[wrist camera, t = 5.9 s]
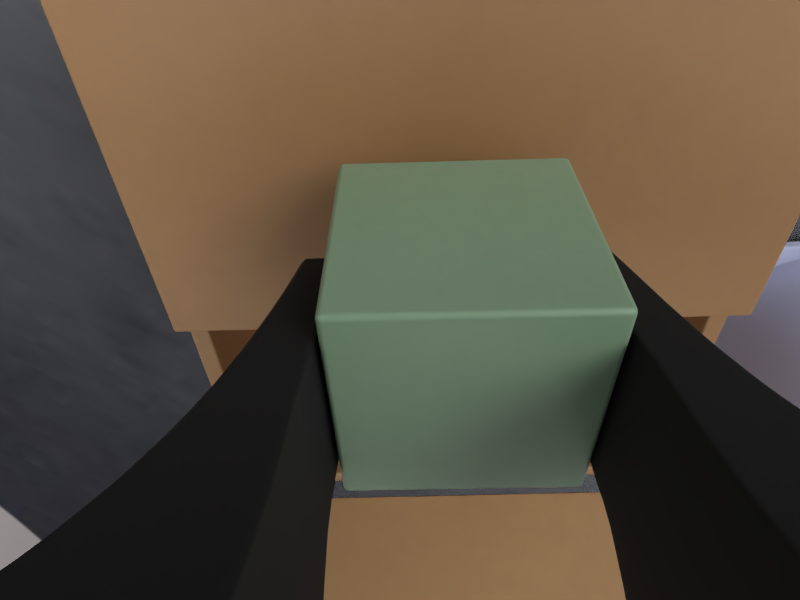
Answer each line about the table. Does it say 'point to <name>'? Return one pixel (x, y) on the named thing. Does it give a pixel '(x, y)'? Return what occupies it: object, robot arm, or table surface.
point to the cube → (468, 325)
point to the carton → (439, 130)
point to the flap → (472, 548)
